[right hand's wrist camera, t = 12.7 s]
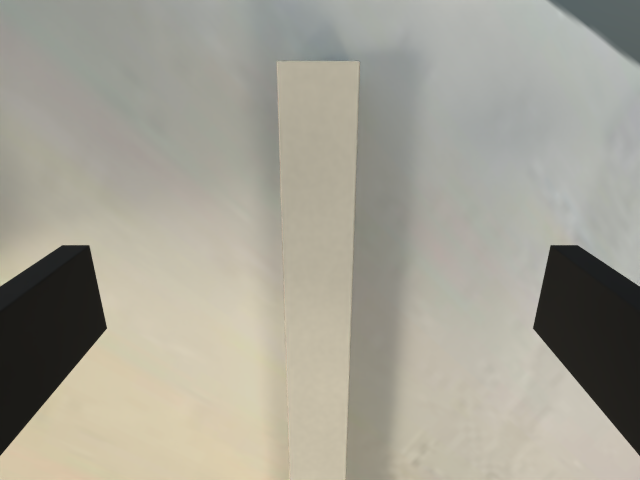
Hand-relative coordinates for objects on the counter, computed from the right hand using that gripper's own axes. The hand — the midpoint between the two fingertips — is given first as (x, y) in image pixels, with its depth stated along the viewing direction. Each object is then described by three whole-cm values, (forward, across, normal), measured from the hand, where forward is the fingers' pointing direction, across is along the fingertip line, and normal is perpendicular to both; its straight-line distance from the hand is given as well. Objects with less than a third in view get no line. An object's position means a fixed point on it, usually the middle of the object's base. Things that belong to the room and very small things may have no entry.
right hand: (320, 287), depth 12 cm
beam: (+24, 0, -31) cm, 39 cm away
